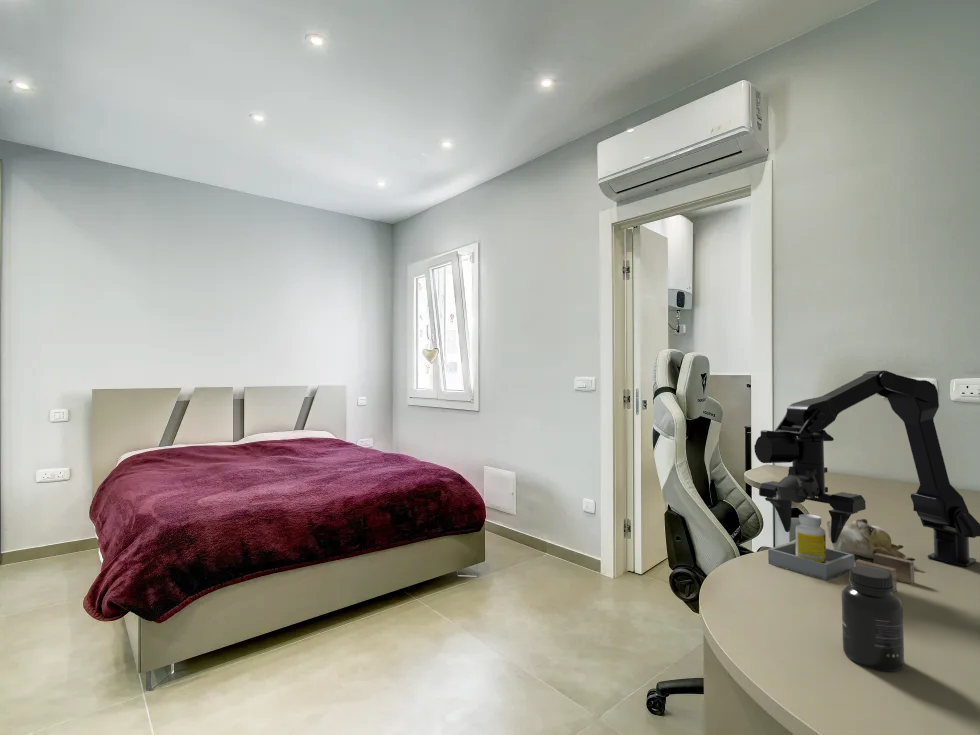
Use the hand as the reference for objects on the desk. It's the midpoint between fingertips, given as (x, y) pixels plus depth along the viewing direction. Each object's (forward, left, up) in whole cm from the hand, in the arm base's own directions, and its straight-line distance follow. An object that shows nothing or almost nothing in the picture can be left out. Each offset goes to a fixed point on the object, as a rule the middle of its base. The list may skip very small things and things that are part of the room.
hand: (809, 537), depth 107 cm
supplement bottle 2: (+31, +24, -6) cm, 40 cm away
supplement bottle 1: (0, 0, -6) cm, 6 cm away
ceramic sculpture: (-17, +4, -6) cm, 18 cm away
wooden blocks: (-3, +12, -6) cm, 14 cm away
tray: (0, 0, -6) cm, 6 cm away
